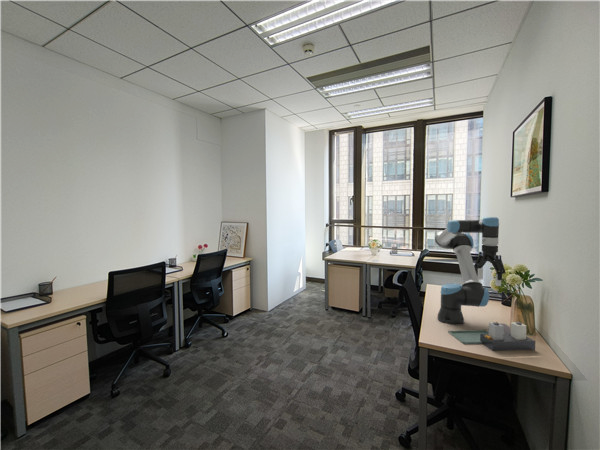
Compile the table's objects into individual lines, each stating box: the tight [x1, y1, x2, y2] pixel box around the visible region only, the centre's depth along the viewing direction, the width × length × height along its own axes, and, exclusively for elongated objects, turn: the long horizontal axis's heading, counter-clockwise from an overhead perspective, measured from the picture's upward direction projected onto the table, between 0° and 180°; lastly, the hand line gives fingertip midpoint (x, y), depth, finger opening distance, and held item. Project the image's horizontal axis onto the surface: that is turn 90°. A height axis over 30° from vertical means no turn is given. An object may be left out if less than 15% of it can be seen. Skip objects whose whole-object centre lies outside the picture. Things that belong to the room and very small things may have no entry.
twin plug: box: [488, 321, 504, 340], centre depth 141 cm, size 4×4×11 cm
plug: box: [510, 321, 527, 340], centre depth 141 cm, size 4×4×11 cm
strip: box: [480, 333, 536, 352], centre depth 141 cm, size 9×22×6 cm, turn 92°
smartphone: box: [498, 322, 511, 334], centre depth 163 cm, size 7×1×15 cm
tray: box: [448, 329, 489, 345], centre depth 151 cm, size 14×22×2 cm, turn 92°
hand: (488, 282), depth 153 cm, fingers open, 13 cm apart
